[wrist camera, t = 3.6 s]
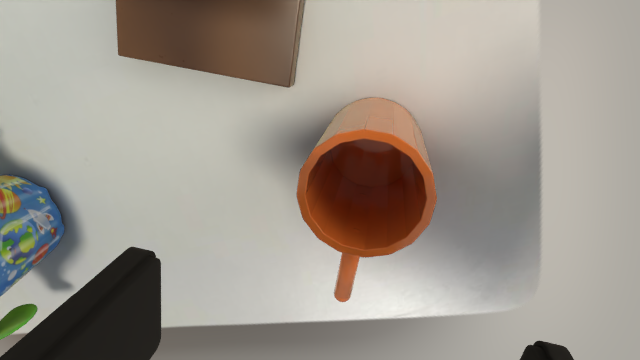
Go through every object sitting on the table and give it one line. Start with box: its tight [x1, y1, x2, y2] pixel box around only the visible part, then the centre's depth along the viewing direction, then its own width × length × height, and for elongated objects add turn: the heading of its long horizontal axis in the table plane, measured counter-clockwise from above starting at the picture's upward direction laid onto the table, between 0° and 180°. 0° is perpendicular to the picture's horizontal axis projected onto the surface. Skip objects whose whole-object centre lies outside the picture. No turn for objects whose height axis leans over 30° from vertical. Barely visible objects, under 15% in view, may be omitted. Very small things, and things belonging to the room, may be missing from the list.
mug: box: [297, 98, 437, 302], centre depth 23 cm, size 11×6×9 cm, turn 171°
